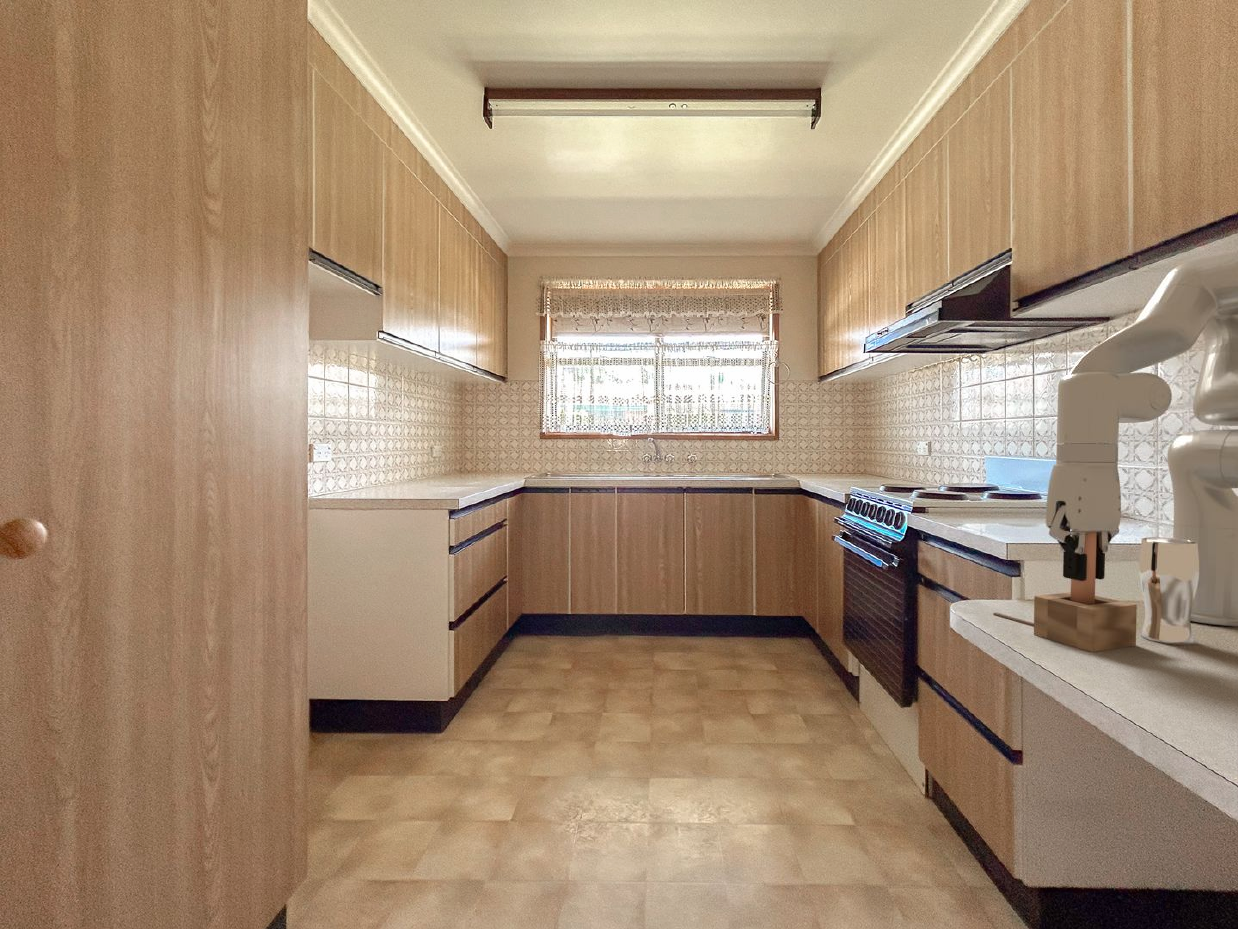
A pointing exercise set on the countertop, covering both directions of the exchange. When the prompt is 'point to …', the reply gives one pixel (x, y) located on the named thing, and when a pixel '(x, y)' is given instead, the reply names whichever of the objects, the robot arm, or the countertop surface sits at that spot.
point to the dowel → (1086, 589)
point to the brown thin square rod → (1014, 619)
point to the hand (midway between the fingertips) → (1083, 577)
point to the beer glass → (1168, 588)
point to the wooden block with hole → (1085, 622)
